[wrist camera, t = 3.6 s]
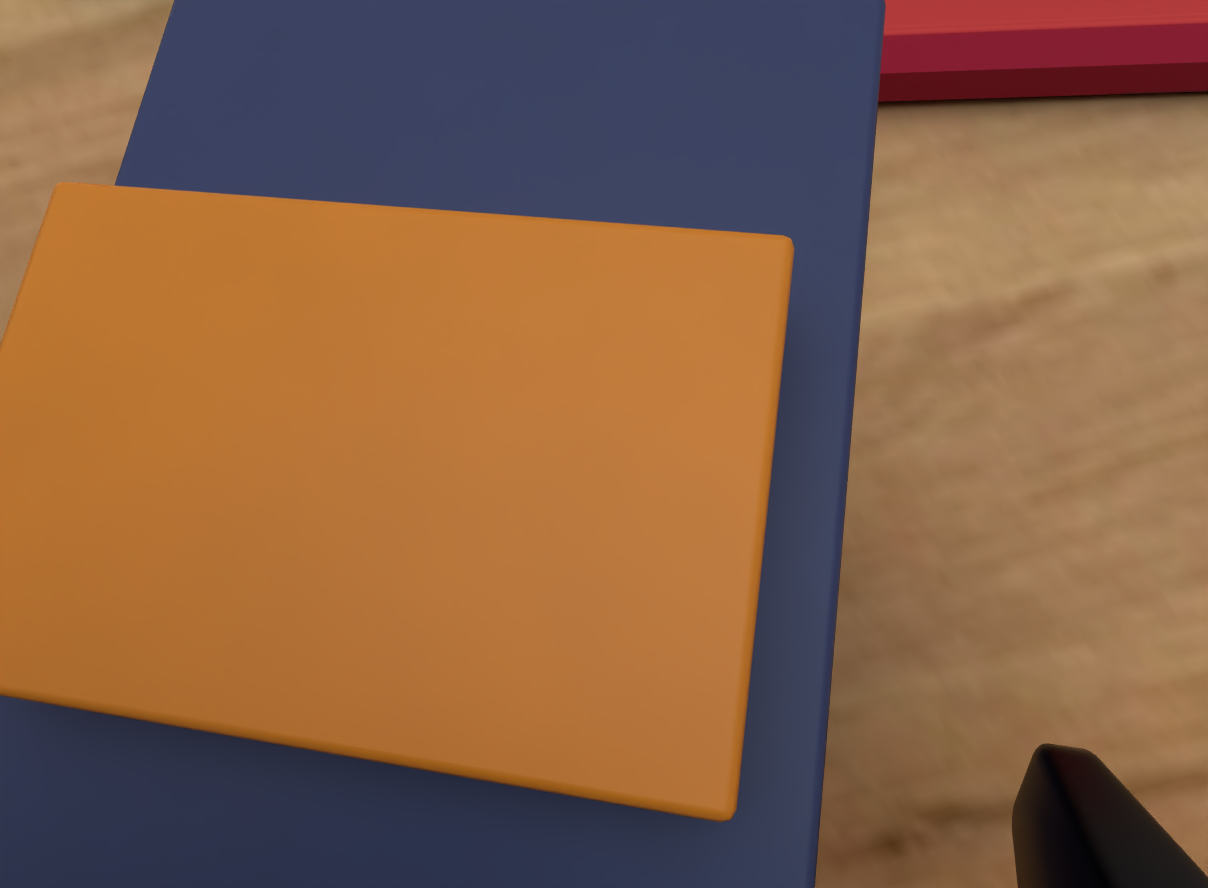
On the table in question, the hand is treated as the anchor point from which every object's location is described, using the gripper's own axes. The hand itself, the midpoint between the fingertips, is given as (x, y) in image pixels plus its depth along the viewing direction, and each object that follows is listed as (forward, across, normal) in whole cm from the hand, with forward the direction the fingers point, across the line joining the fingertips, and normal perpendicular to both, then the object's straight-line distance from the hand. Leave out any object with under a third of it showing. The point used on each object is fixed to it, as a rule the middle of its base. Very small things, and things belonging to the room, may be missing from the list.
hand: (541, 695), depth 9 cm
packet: (+7, 0, +5) cm, 9 cm away
